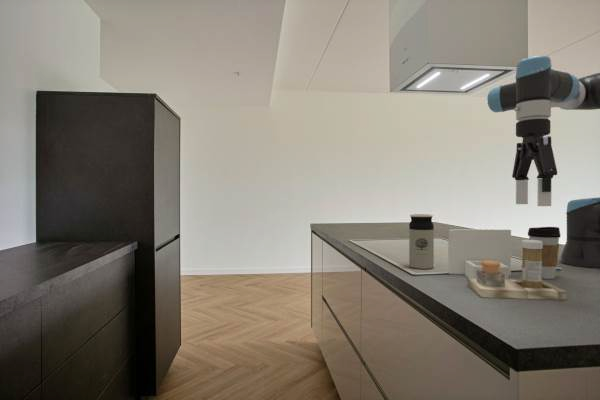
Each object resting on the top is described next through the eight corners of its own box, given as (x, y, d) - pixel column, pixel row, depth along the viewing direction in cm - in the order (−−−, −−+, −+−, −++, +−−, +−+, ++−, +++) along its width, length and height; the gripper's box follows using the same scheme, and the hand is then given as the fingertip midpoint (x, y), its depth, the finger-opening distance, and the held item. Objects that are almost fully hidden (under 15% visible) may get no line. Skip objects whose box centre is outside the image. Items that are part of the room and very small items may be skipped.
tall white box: (508, 274, 120) (509, 229, 120) (525, 283, 109) (525, 233, 108) (448, 272, 123) (448, 229, 123) (458, 281, 111) (458, 233, 111)
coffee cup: (565, 280, 112) (566, 228, 111) (533, 279, 114) (533, 228, 113) (552, 274, 120) (553, 226, 120) (523, 273, 122) (523, 225, 121)
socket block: (541, 287, 104) (542, 269, 104) (565, 300, 92) (565, 279, 92) (467, 285, 107) (467, 267, 107) (481, 297, 95) (481, 277, 95)
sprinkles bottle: (524, 289, 102) (524, 238, 102) (544, 292, 99) (544, 240, 99) (519, 293, 99) (519, 240, 98) (540, 296, 96) (540, 242, 95)
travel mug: (412, 264, 138) (412, 214, 138) (435, 266, 134) (435, 214, 134) (406, 268, 131) (406, 215, 131) (430, 270, 127) (430, 215, 127)
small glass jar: (496, 279, 102) (496, 260, 102) (502, 283, 98) (502, 263, 98) (478, 278, 103) (478, 259, 103) (484, 282, 98) (484, 263, 98)
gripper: (499, 128, 110) (499, 203, 111) (539, 111, 86) (538, 207, 87) (527, 127, 109) (527, 203, 110) (575, 109, 85) (575, 207, 86)
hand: (532, 205), depth 98 cm, fingers open, 12 cm apart
